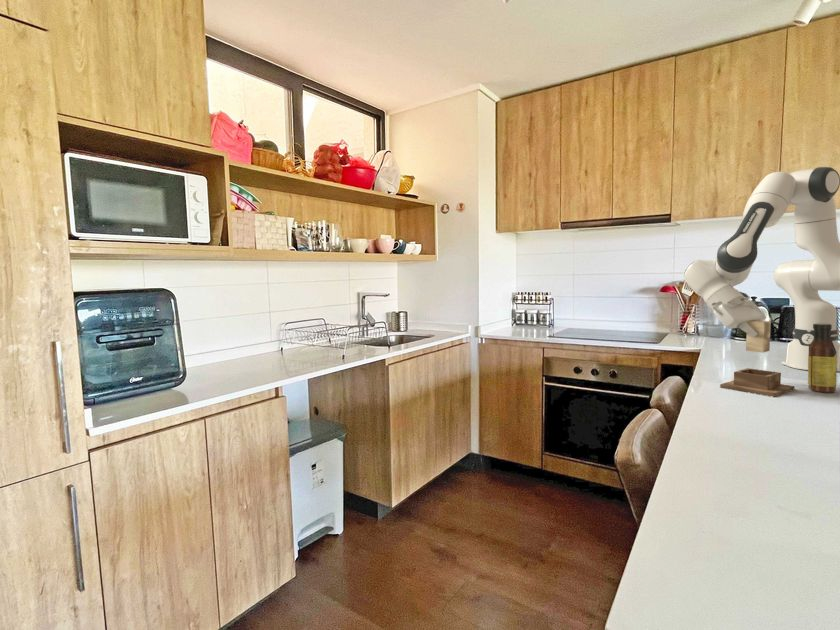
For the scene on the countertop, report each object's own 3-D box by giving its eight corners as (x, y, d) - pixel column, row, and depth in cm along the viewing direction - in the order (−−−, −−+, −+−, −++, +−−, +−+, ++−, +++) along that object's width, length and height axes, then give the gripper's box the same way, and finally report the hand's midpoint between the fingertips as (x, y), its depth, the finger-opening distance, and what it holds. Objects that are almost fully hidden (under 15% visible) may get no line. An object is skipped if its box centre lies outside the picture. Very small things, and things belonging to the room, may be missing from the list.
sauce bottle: (842, 393, 129) (845, 324, 127) (819, 393, 129) (823, 325, 127) (822, 387, 135) (825, 322, 134) (801, 388, 135) (803, 323, 134)
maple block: (752, 349, 139) (753, 320, 138) (769, 351, 135) (770, 321, 134) (745, 350, 136) (747, 321, 136) (762, 352, 133) (764, 322, 132)
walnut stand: (741, 380, 146) (742, 365, 146) (794, 389, 134) (795, 373, 134) (720, 387, 139) (720, 371, 138) (774, 397, 127) (774, 379, 126)
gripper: (717, 296, 135) (753, 331, 127) (749, 293, 145) (784, 325, 138) (701, 310, 139) (735, 344, 131) (733, 306, 149) (766, 338, 142)
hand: (760, 335), depth 135 cm, fingers closed on maple block, 4 cm apart
